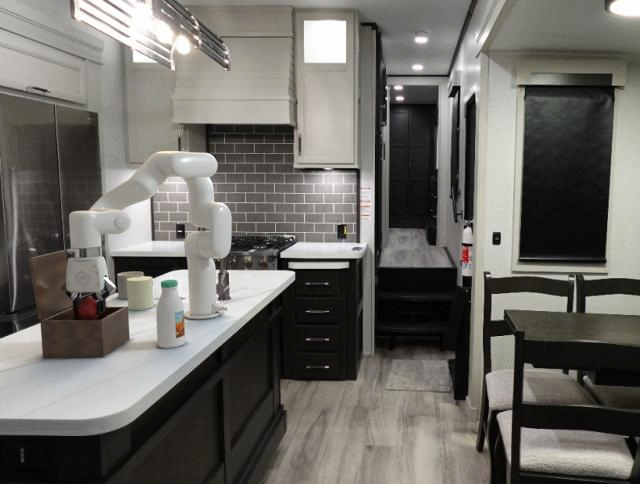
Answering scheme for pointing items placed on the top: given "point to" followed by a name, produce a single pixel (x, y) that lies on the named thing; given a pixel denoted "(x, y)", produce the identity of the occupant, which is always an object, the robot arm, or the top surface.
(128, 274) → the coffee mug
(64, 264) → the bin lid
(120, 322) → the bin
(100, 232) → the robot arm
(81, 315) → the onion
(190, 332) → the top surface
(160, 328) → the milk bottle
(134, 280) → the can
